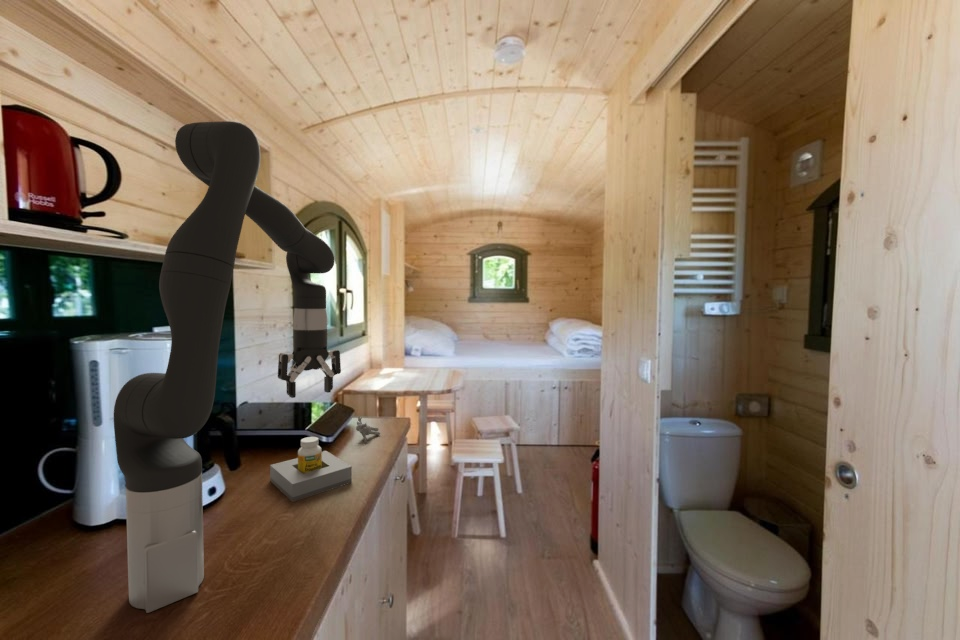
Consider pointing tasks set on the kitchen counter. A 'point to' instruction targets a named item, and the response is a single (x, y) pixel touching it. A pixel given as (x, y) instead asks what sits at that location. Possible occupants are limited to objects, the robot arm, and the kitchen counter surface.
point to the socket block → (310, 477)
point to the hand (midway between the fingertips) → (310, 394)
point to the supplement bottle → (309, 455)
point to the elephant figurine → (366, 429)
